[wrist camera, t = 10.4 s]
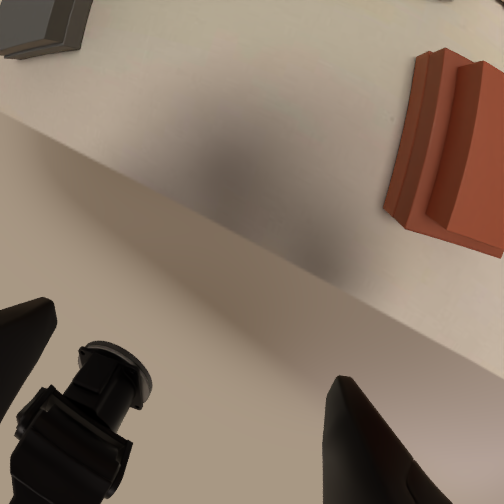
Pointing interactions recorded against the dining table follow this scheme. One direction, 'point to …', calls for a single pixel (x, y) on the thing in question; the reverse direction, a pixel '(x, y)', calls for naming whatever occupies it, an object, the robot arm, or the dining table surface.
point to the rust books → (427, 148)
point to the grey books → (41, 26)
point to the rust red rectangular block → (473, 159)
